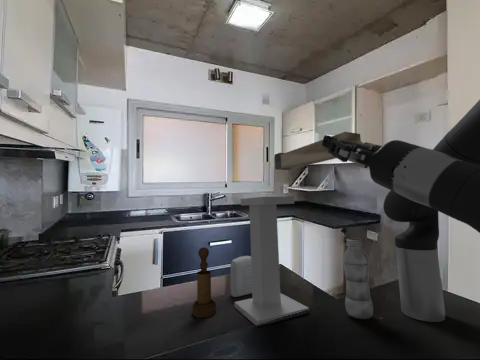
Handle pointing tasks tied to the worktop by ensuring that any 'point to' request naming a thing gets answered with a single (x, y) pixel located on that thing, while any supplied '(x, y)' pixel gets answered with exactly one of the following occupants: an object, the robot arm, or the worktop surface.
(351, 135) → the birch bar
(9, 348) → the worktop surface
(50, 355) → the worktop surface
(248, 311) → the stand
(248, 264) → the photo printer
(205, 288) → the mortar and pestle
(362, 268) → the plastic bottle
